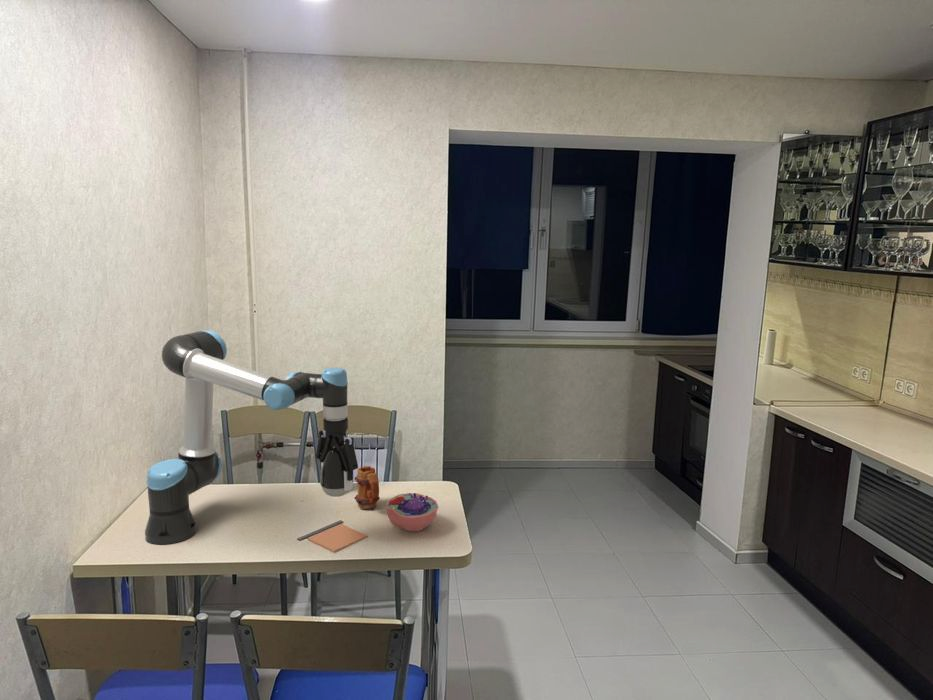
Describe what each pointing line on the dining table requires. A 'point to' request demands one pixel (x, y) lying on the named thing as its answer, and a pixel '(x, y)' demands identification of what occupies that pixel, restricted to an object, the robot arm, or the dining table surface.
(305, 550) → the dining table surface
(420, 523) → the cell model
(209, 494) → the dining table surface
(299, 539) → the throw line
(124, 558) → the dining table surface
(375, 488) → the mug
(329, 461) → the pump dispenser
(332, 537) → the mat
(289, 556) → the dining table surface
